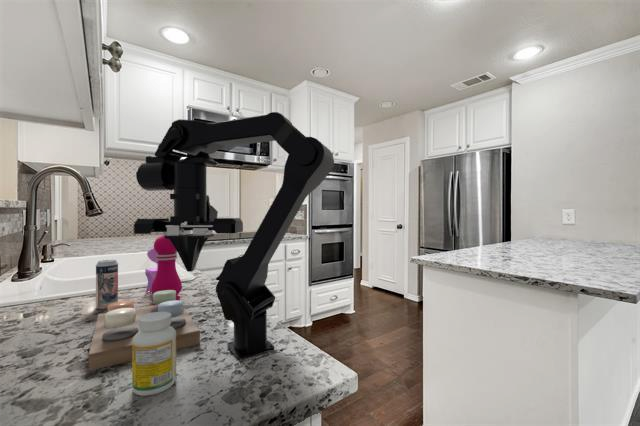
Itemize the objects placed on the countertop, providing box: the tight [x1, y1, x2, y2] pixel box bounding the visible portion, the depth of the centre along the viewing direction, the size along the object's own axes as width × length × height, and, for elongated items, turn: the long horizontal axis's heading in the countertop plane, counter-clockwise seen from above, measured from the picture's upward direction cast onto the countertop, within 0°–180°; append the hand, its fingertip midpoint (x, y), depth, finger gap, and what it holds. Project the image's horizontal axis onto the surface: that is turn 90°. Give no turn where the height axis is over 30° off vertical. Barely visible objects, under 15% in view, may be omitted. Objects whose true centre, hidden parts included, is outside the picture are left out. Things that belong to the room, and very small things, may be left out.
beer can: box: [95, 259, 119, 310], centre depth 75 cm, size 5×5×12 cm
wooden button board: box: [88, 305, 201, 372], centre depth 58 cm, size 22×16×3 cm
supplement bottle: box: [131, 312, 177, 397], centre depth 40 cm, size 5×5×10 cm
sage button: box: [152, 290, 176, 305], centre depth 64 cm, size 4×4×2 cm
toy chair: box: [144, 246, 178, 293], centre depth 89 cm, size 8×9×15 cm
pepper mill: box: [150, 232, 183, 306], centre depth 77 cm, size 7×7×20 cm
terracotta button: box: [107, 300, 135, 312], centre depth 59 cm, size 4×4×2 cm
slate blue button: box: [158, 299, 185, 318], centre depth 56 cm, size 4×4×2 cm
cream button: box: [105, 307, 135, 328], centre depth 51 cm, size 4×4×2 cm
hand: (190, 271), depth 55 cm, fingers closed
